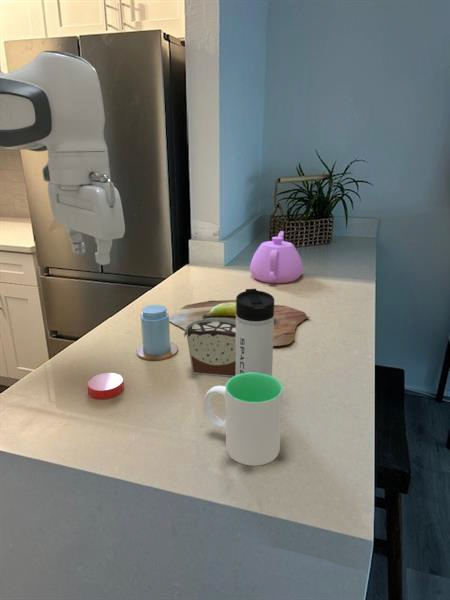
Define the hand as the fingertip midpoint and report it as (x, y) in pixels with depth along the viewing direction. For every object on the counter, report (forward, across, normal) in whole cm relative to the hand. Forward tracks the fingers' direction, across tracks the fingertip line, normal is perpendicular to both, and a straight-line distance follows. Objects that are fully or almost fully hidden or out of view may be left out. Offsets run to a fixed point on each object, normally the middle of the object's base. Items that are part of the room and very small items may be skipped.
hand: (90, 258), depth 71 cm
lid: (+24, 0, 0) cm, 24 cm away
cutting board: (+25, +9, -41) cm, 49 cm away
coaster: (+25, +7, -16) cm, 30 cm away
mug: (+25, -28, -9) cm, 39 cm away
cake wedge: (+25, -8, -21) cm, 34 cm away
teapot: (+25, +30, -77) cm, 86 cm away
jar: (+25, +7, -16) cm, 30 cm away
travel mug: (+25, -21, -18) cm, 37 cm away
